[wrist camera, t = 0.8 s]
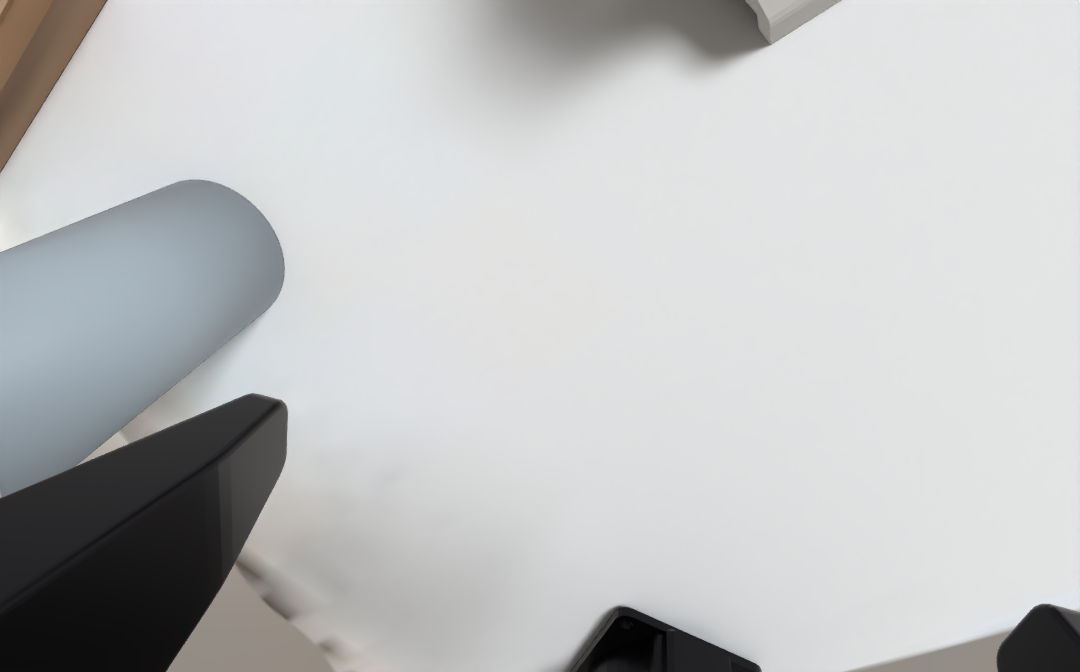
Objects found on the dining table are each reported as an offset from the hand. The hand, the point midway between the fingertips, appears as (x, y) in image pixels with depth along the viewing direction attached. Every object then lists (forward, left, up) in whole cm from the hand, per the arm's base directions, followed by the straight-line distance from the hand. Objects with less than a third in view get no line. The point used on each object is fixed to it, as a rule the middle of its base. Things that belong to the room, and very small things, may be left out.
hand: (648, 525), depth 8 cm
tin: (-8, +12, -14) cm, 20 cm away
